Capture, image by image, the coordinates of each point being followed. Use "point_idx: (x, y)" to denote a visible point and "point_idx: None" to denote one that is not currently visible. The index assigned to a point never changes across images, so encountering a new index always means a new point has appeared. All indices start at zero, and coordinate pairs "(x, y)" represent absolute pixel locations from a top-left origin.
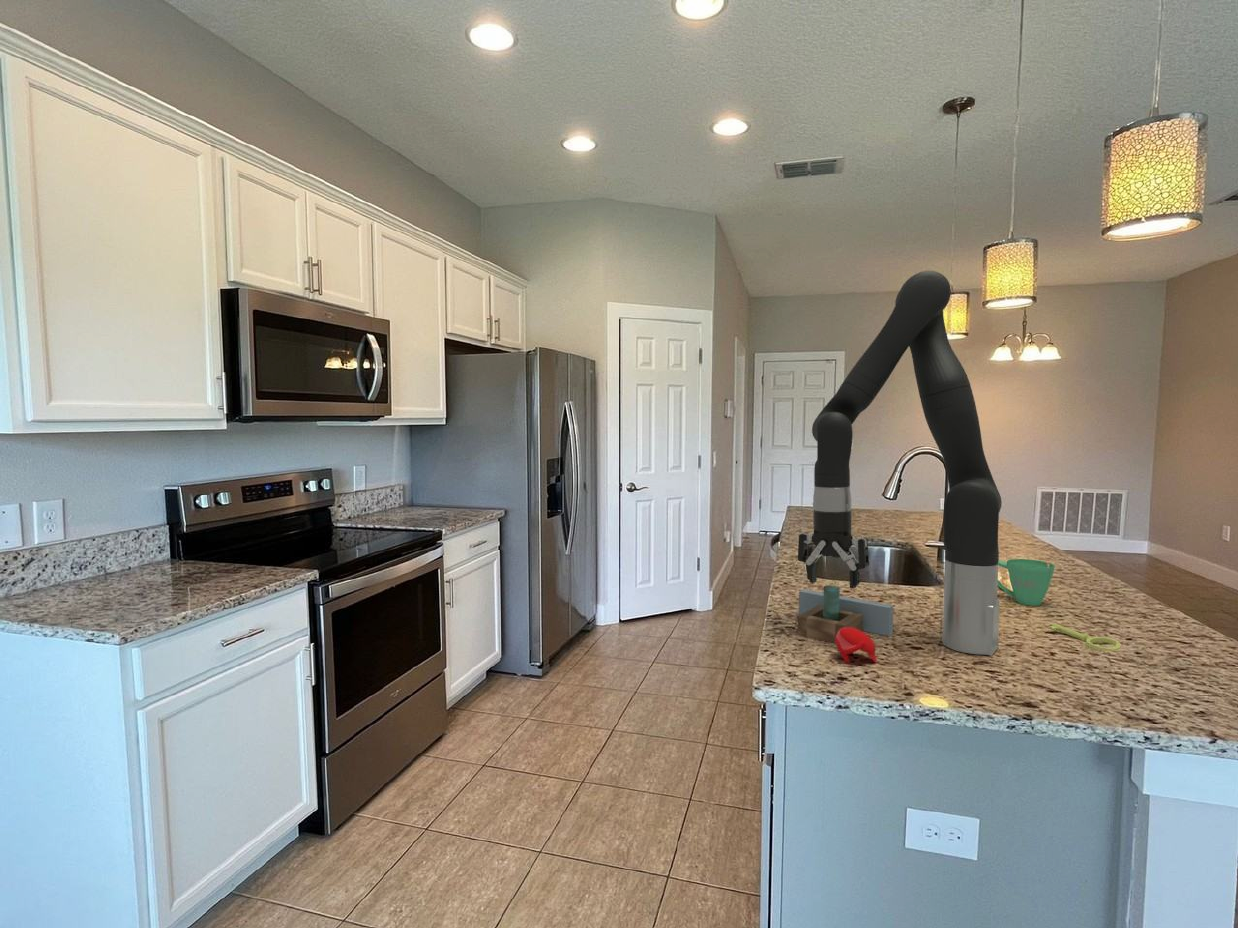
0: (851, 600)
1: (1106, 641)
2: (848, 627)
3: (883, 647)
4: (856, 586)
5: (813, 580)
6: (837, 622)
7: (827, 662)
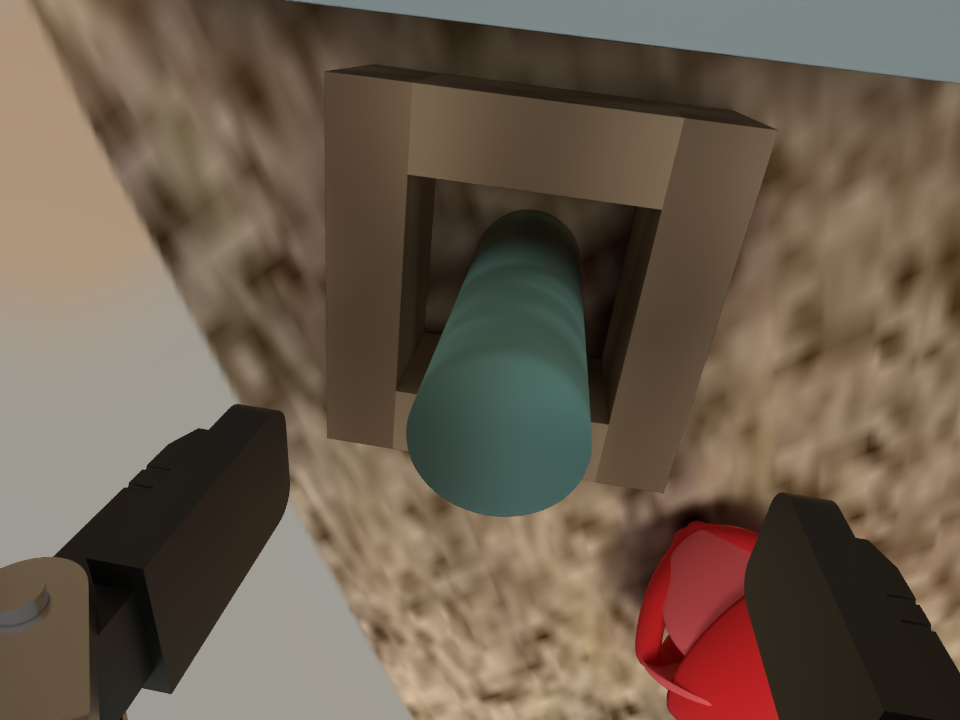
0: (665, 21)
1: None
2: (720, 713)
3: (878, 346)
4: (824, 499)
5: (275, 499)
6: (602, 451)
7: (609, 634)
